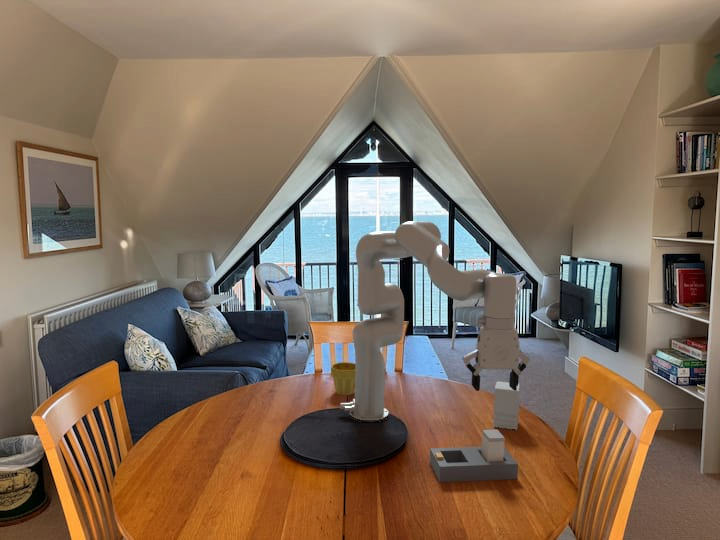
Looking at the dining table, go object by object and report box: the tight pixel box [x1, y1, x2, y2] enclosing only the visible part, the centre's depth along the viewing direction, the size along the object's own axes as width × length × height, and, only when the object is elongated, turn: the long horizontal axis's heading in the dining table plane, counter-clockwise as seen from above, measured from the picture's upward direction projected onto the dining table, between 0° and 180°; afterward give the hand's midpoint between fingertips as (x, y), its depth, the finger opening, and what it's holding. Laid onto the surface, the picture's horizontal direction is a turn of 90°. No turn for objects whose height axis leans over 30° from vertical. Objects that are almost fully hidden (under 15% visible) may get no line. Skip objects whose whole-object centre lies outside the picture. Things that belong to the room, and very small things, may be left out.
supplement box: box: [493, 381, 520, 431], centre depth 166 cm, size 7×7×13 cm
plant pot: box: [330, 361, 355, 396], centre depth 192 cm, size 10×10×10 cm
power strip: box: [429, 446, 519, 483], centre depth 136 cm, size 20×10×5 cm, turn 96°
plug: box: [481, 429, 506, 462], centre depth 136 cm, size 4×5×10 cm
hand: (494, 388), depth 135 cm, fingers open, 9 cm apart
